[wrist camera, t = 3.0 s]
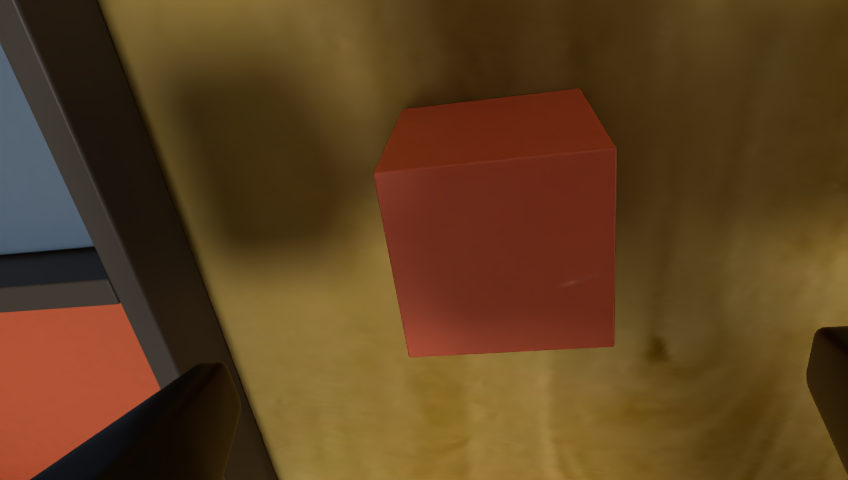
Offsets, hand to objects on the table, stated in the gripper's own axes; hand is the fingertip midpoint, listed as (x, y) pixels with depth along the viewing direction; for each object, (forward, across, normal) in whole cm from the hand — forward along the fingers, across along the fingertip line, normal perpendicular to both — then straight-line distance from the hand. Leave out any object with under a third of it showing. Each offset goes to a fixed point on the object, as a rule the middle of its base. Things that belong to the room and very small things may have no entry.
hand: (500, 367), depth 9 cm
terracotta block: (+7, 0, 0) cm, 7 cm away
